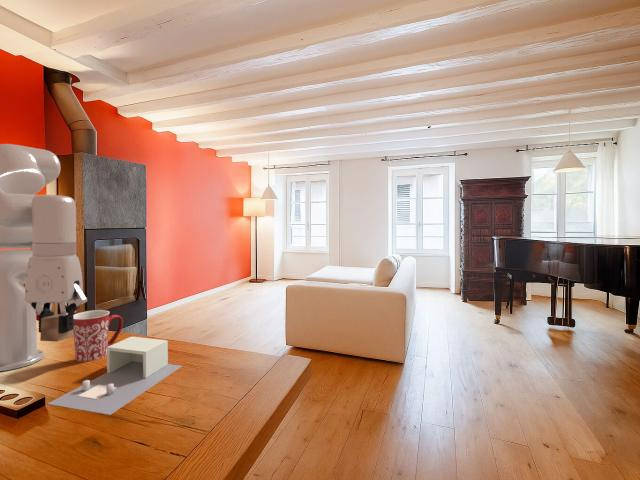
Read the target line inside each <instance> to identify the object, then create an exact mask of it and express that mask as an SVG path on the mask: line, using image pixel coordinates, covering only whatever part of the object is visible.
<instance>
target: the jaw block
mask: <svg viewBox="0 0 640 480" xmlns="http://www.w3.org/2000/svg"><path fill="white" fill-rule="evenodd" d="M61 315H62V314H61V313H59V314H57V313H56V314H54V315H53V316H49V317H44V318H41V333H40V336H39V337H40V339H39V341H40V342H59V341H63V340H66V339H67V340H68V339H69V338H74V334H73V330H71V331H68V332H65V333H63V334H61V333H59V316H61ZM74 315H75V314H73V318H74Z"/></svg>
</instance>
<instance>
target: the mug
mask: <svg viewBox="0 0 640 480" xmlns="http://www.w3.org/2000/svg"><path fill="white" fill-rule="evenodd" d="M73 315H74V318H73V343H74V353H75V360H76V361H77V362H82V363H85V362H93V361H97V360H100V359H102V358H104V357H107V347H108V346H111V345H113V344H115V341H116V340H117V339H118V337H119V335H120V333H121V331H122V330H123V325H124V319H123V317H122V316H120V315H117V314H112V315H110V311H109V310H107V309H106V310H103V309H95V310H86V311H83V312H78V313H74V314H73ZM114 319H117V321H118V326H117V329H116V331H115V332H114V334H113V335H112V337H111V338H110V340H109V326H110V324H111V322H112V321H113V320H114Z"/></svg>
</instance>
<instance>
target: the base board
mask: <svg viewBox="0 0 640 480" xmlns="http://www.w3.org/2000/svg"><path fill="white" fill-rule="evenodd" d="M182 367H183V365H180V364H179V365H178V364H172V363H168V365H166V366H165V367H163V368H161V369H160V370H158V371H157V372H155V373H153V374H152V375H150V376H149V377H147V378H143V363H141V362H133V361H132V362H130V363H128V364H126V365H124V366H122V367H120V368H118V369H116V370H115V371H113V372H111V373H107V372H106V373H103V374H102V375H100V376H98V377H96V378H94V379H93V380H89V379H85V380H83V381H82V384H81V385H80V386H78V387H77V388H75V389H73V390H71V391H69V392H67V393H65V394H63V395H61V396H59V397H58V398H56V399H54V400H52V401H50V402H48V403H47V405H50V406H51V405H52V406H57V407H62V408H63V407H64V408H68V409H75V410H80V411H86V412H91V413H97V414H104V415H107V416H111V415H112V414H114V413H115V412H117V411H119V410H120V409H121V408H123V407H124V406H126V405H127V404H128V403H130V402H132V401H133V400H134V399H136V398H137V397H139V396H141V395H142V394H144V393H145V392H147V391H148V390H149V389H151V388H152V387H154V386H155V385H157V384H159V383H160V382H162V381H163V380H164V379H165V378H168V377H169V376H170V375H172V374H173V373H174V372H176V371H178V370H179V369H181V368H182Z"/></svg>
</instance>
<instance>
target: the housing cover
mask: <svg viewBox="0 0 640 480" xmlns="http://www.w3.org/2000/svg"><path fill="white" fill-rule="evenodd" d="M168 346H169V340H166V339H160V338H159V339H158V338H150V337H149V338H148V337H139V336H130V337H127V338H125V339H122V340H120V341H118V342H114V343H113V344H112V345H111V346H108V347H107V355H106V373H111V372H113V371H115V370H116V369H118V368H120V367H122V366H124V365H126V364H128V363H130V362H132V361H133V362H141V363H143V378H147V377H149V376H150V375H152V374H153V373H155V372H157V371H158V370H160V369H161V368H163V367H165V366H166V365H168V364H169V362H168V361H169V352H168V351H169V350H168V348H169V347H168Z"/></svg>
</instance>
